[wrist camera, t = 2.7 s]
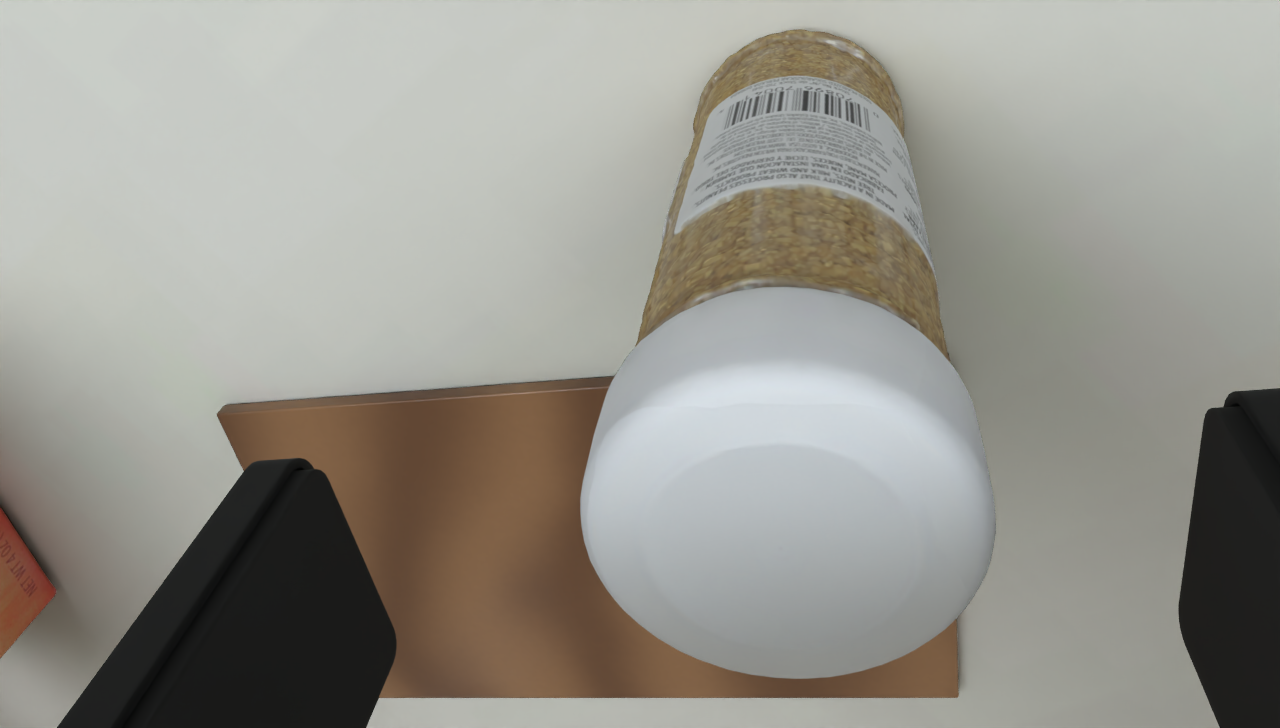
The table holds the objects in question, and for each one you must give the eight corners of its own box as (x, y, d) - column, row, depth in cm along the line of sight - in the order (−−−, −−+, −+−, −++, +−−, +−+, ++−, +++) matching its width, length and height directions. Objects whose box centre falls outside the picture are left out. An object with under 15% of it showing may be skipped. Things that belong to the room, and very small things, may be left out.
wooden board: (948, 350, 24) (950, 361, 24) (957, 685, 30) (959, 698, 30) (224, 404, 29) (215, 414, 28) (358, 686, 35) (353, 698, 34)
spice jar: (671, 190, 23) (533, 629, 12) (732, -7, 21) (628, 317, 9) (860, 249, 23) (897, 740, 12) (943, 60, 21) (1089, 460, 9)
